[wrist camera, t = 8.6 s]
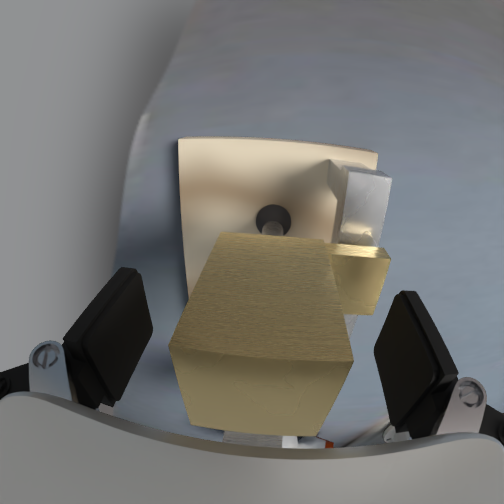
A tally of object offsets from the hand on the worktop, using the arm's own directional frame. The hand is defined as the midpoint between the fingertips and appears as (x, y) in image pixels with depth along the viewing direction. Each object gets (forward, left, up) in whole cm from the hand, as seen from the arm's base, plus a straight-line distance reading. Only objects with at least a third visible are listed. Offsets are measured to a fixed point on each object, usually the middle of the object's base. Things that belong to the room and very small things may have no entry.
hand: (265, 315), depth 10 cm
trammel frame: (-7, -2, -9) cm, 11 cm away
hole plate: (-7, 0, -10) cm, 12 cm away
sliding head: (0, -1, -8) cm, 8 cm away
